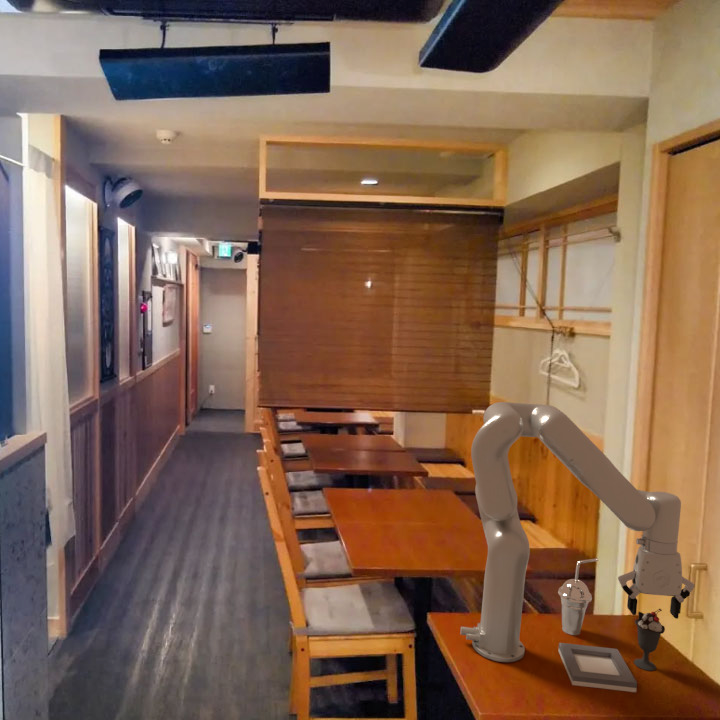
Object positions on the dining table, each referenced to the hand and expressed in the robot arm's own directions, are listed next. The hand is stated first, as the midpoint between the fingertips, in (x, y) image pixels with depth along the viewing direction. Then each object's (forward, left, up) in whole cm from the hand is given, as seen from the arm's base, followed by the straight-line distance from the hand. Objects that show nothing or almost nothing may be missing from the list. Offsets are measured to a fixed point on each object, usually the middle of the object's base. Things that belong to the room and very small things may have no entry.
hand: (653, 614), depth 152 cm
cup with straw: (-15, +13, -13) cm, 24 cm away
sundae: (0, 0, -13) cm, 13 cm away
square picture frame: (-14, -5, -13) cm, 19 cm away
